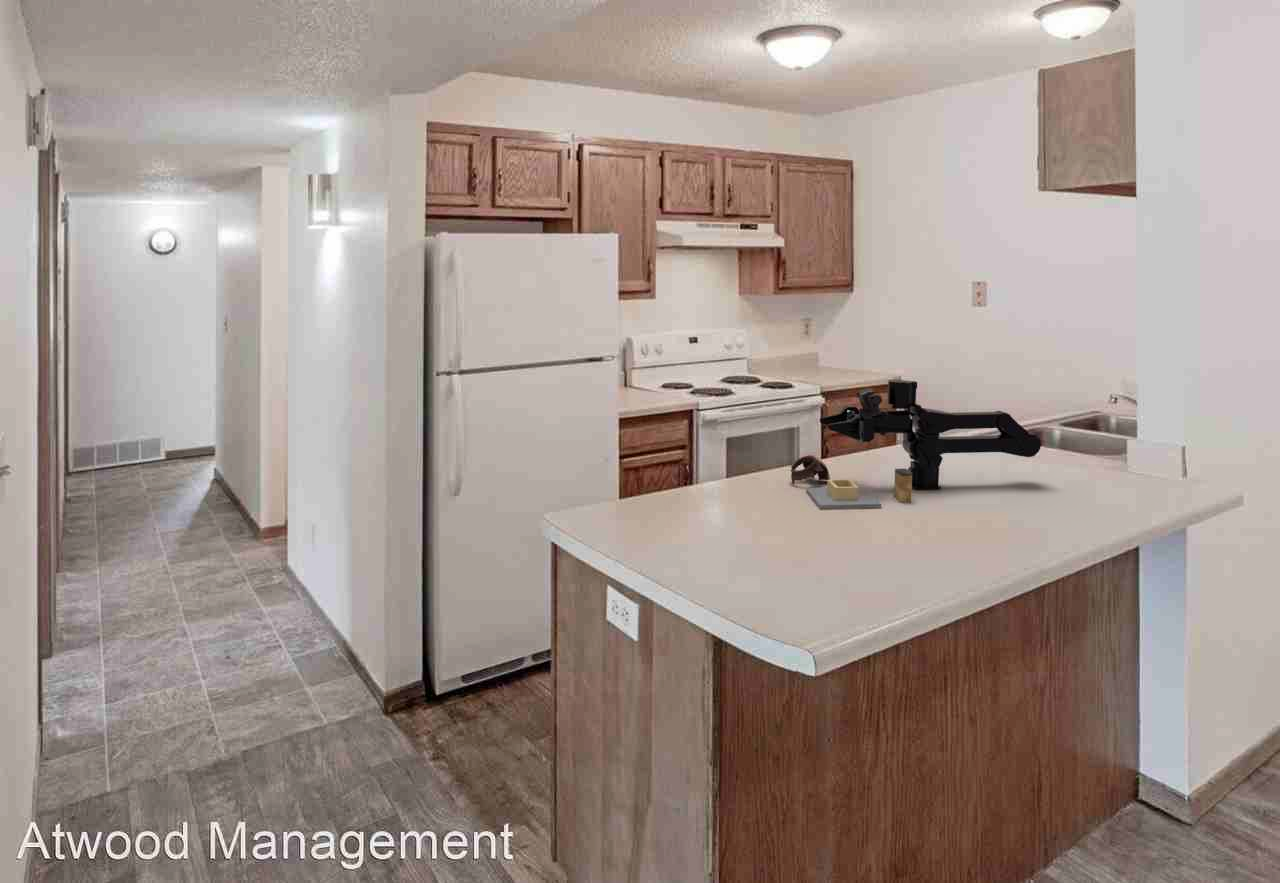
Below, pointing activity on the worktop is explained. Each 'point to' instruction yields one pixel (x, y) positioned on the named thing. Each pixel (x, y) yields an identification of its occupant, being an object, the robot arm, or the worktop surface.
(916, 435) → the robot arm
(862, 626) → the worktop surface
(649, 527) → the worktop surface
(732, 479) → the worktop surface
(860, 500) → the grey board with socket
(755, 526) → the worktop surface
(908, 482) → the wood topped block
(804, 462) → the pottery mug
